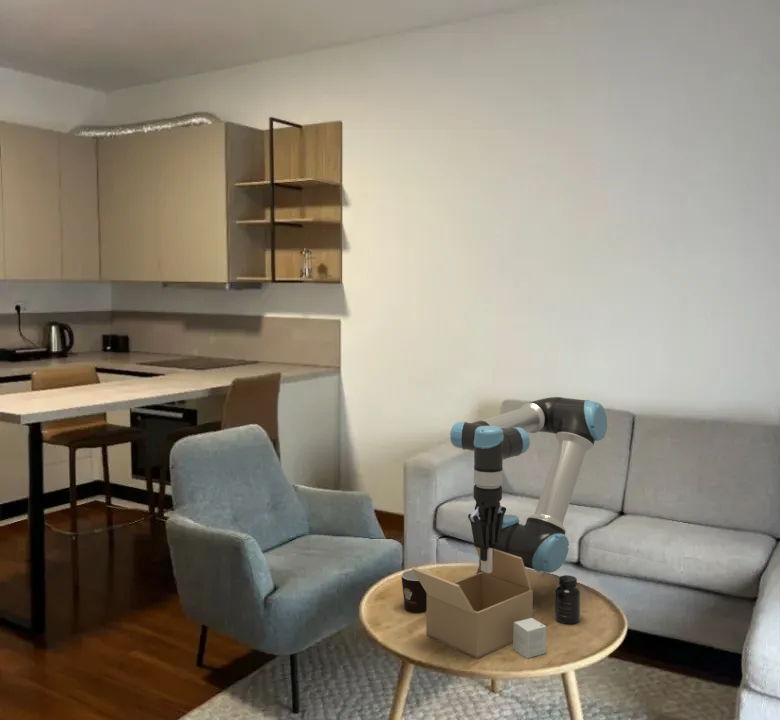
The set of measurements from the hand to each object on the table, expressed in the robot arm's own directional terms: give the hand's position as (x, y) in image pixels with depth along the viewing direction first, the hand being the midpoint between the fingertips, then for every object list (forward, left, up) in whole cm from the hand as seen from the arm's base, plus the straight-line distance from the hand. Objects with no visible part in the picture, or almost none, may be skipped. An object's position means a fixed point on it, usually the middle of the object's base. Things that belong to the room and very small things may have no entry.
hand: (486, 571), depth 214 cm
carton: (+3, 0, -17) cm, 17 cm away
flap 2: (-6, 0, 0) cm, 6 cm away
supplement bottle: (-23, +10, -17) cm, 30 cm away
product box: (0, +15, -17) cm, 23 cm away
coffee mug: (+4, -22, -17) cm, 28 cm away
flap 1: (+16, 0, -1) cm, 17 cm away
